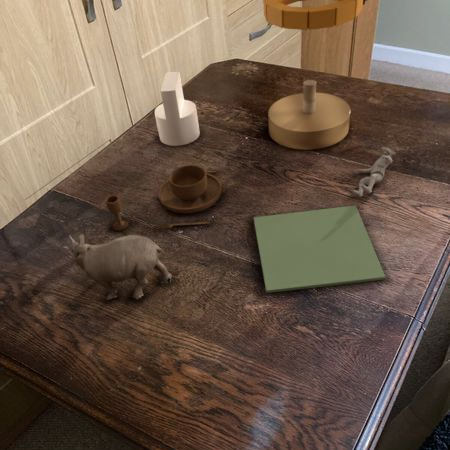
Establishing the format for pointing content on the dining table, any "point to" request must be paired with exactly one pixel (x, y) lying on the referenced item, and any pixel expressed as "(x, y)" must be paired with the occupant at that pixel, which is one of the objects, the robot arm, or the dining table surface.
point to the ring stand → (309, 119)
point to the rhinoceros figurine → (119, 261)
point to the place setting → (179, 194)
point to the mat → (315, 249)
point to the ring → (310, 14)
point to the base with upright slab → (176, 113)
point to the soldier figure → (374, 172)
